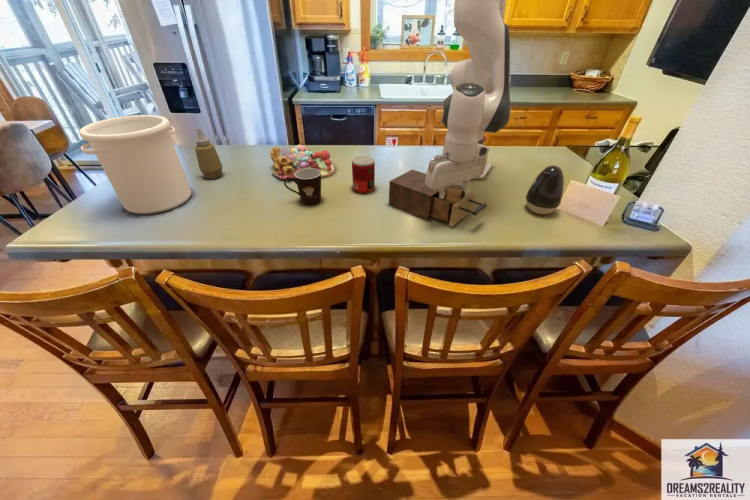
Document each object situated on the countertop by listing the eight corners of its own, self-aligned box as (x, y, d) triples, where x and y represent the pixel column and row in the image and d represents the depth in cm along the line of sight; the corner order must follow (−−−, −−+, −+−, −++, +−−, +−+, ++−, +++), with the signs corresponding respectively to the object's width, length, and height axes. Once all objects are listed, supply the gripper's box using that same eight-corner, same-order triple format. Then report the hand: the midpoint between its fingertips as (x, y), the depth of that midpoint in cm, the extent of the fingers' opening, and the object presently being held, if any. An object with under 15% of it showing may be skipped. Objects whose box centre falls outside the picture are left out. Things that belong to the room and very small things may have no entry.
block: (443, 196, 99) (445, 183, 97) (457, 197, 99) (460, 184, 96) (444, 203, 96) (446, 189, 93) (459, 204, 95) (461, 190, 93)
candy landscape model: (281, 187, 117) (276, 163, 112) (264, 165, 133) (259, 143, 128) (342, 173, 127) (341, 150, 122) (319, 155, 144) (317, 134, 138)
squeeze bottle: (197, 178, 123) (181, 130, 112) (213, 170, 129) (199, 124, 118) (214, 182, 120) (198, 133, 110) (229, 174, 126) (216, 127, 116)
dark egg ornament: (515, 208, 105) (529, 164, 96) (533, 200, 110) (548, 157, 101) (544, 221, 99) (561, 176, 90) (562, 212, 104) (580, 167, 95)
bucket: (137, 227, 95) (93, 143, 80) (102, 207, 105) (57, 128, 90) (213, 194, 112) (188, 120, 97) (177, 179, 122) (149, 110, 107)
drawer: (486, 217, 99) (491, 198, 95) (469, 233, 92) (474, 213, 88) (431, 198, 109) (433, 179, 105) (412, 210, 102) (414, 191, 98)
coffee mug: (328, 197, 111) (325, 170, 105) (316, 208, 105) (313, 180, 99) (298, 192, 114) (294, 165, 108) (285, 203, 108) (280, 175, 102)
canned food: (372, 194, 113) (372, 165, 106) (350, 192, 114) (349, 163, 107) (376, 185, 119) (376, 156, 112) (355, 183, 120) (354, 155, 113)
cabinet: (448, 205, 107) (452, 182, 102) (428, 220, 99) (431, 195, 94) (410, 191, 115) (412, 169, 110) (388, 204, 107) (389, 181, 102)
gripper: (438, 161, 82) (432, 208, 90) (493, 147, 90) (483, 191, 98) (422, 153, 86) (418, 199, 94) (477, 141, 94) (468, 184, 103)
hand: (452, 195), depth 96 cm, fingers closed on block, 6 cm apart
